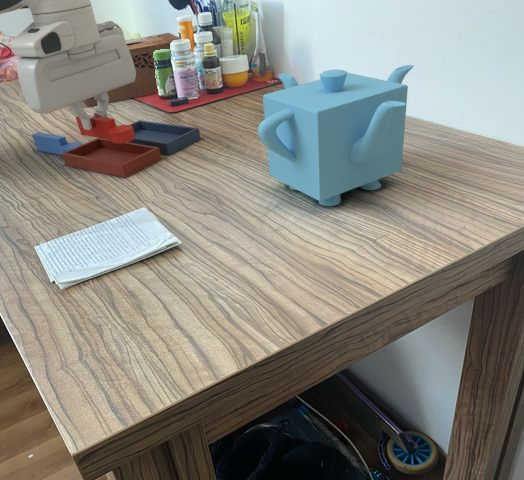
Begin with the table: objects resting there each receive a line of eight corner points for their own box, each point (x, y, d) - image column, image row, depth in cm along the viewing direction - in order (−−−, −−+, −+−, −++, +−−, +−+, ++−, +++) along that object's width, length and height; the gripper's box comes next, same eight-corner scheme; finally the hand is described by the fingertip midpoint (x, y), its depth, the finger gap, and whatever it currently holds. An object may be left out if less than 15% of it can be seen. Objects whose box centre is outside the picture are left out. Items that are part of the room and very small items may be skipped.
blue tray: (109, 145, 97) (106, 134, 96) (141, 130, 102) (139, 120, 101) (168, 155, 90) (166, 143, 88) (200, 139, 95) (199, 128, 93)
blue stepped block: (32, 152, 98) (25, 136, 97) (49, 145, 101) (43, 129, 99) (71, 160, 92) (66, 144, 91) (89, 153, 95) (83, 136, 93)
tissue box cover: (177, 75, 138) (169, 32, 131) (191, 86, 127) (183, 39, 121) (81, 94, 132) (67, 50, 125) (87, 106, 121) (73, 59, 115)
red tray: (65, 164, 91) (61, 153, 90) (102, 148, 96) (99, 137, 95) (125, 177, 83) (121, 165, 82) (161, 159, 89) (159, 147, 87)
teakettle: (258, 214, 68) (245, 95, 59) (283, 161, 82) (276, 58, 72) (404, 215, 64) (415, 87, 55) (405, 159, 78) (415, 49, 68)
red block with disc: (75, 137, 89) (69, 119, 87) (93, 129, 91) (87, 112, 89) (122, 145, 83) (117, 125, 81) (140, 136, 85) (135, 118, 83)
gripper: (106, 18, 86) (128, 106, 95) (-1, 46, 74) (36, 143, 83) (131, 18, 83) (152, 109, 91) (24, 46, 71) (60, 148, 79)
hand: (96, 125), depth 87 cm, fingers closed on red block with disc
